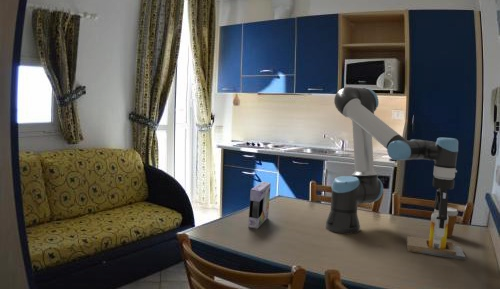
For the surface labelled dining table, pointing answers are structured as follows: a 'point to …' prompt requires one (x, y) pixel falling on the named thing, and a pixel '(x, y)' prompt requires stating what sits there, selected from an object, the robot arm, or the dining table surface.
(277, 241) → the dining table surface
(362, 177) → the robot arm
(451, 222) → the disposable coffee cup
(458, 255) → the grey flat plate
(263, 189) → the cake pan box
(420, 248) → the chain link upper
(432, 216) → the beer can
